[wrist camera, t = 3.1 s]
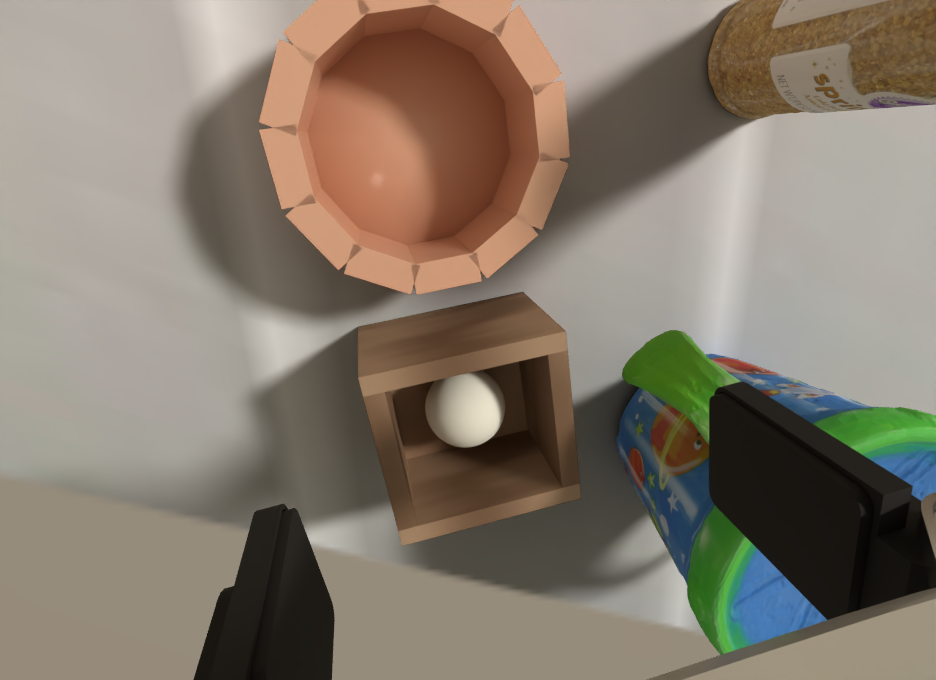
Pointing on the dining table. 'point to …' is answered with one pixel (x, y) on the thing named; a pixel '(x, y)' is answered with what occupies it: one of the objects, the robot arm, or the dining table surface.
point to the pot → (415, 136)
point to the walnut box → (506, 453)
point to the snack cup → (687, 478)
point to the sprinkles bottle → (824, 56)
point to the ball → (465, 408)
